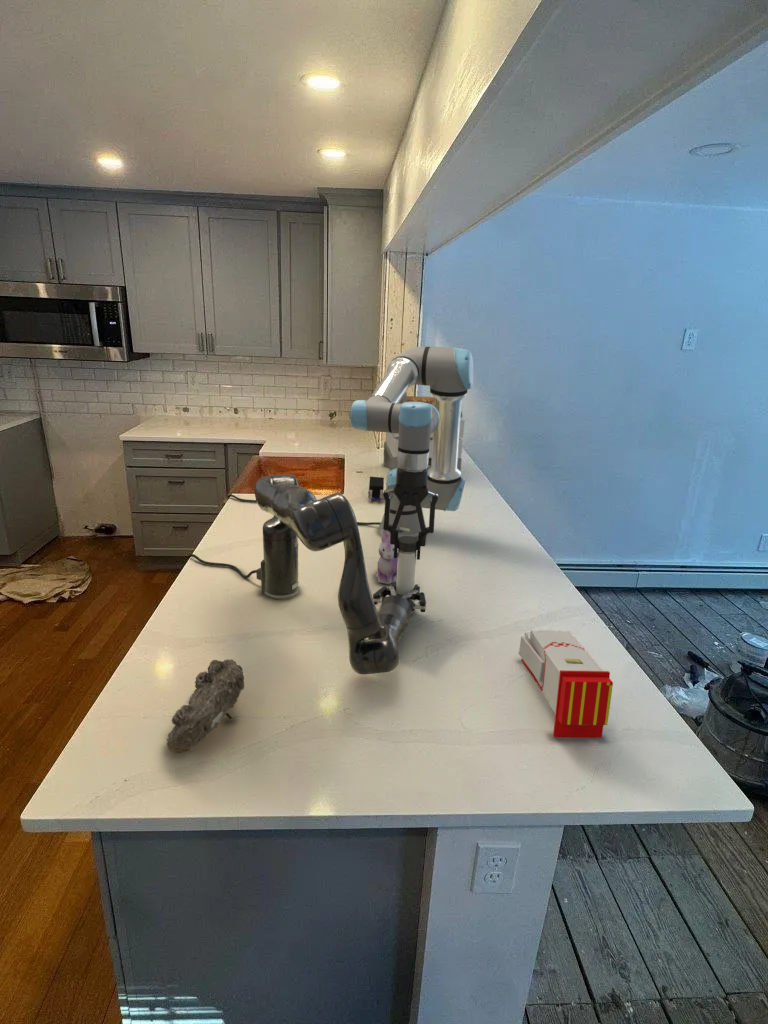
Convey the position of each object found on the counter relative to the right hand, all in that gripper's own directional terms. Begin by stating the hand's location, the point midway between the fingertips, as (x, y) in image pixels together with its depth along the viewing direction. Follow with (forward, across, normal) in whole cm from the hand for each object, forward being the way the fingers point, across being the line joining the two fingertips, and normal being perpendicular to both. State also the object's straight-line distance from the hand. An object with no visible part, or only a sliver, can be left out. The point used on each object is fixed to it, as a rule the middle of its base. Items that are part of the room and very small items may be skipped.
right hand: (406, 556), depth 144 cm
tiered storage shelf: (+16, -2, -134) cm, 135 cm away
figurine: (+16, +5, -19) cm, 25 cm away
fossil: (+16, +35, +46) cm, 59 cm away
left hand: (+10, 0, -3) cm, 10 cm away
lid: (-4, 0, 0) cm, 4 cm away
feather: (+16, +50, -64) cm, 83 cm away
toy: (+16, -33, +29) cm, 47 cm away
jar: (+16, 0, 0) cm, 16 cm away
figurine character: (+16, +15, -92) cm, 94 cm away
